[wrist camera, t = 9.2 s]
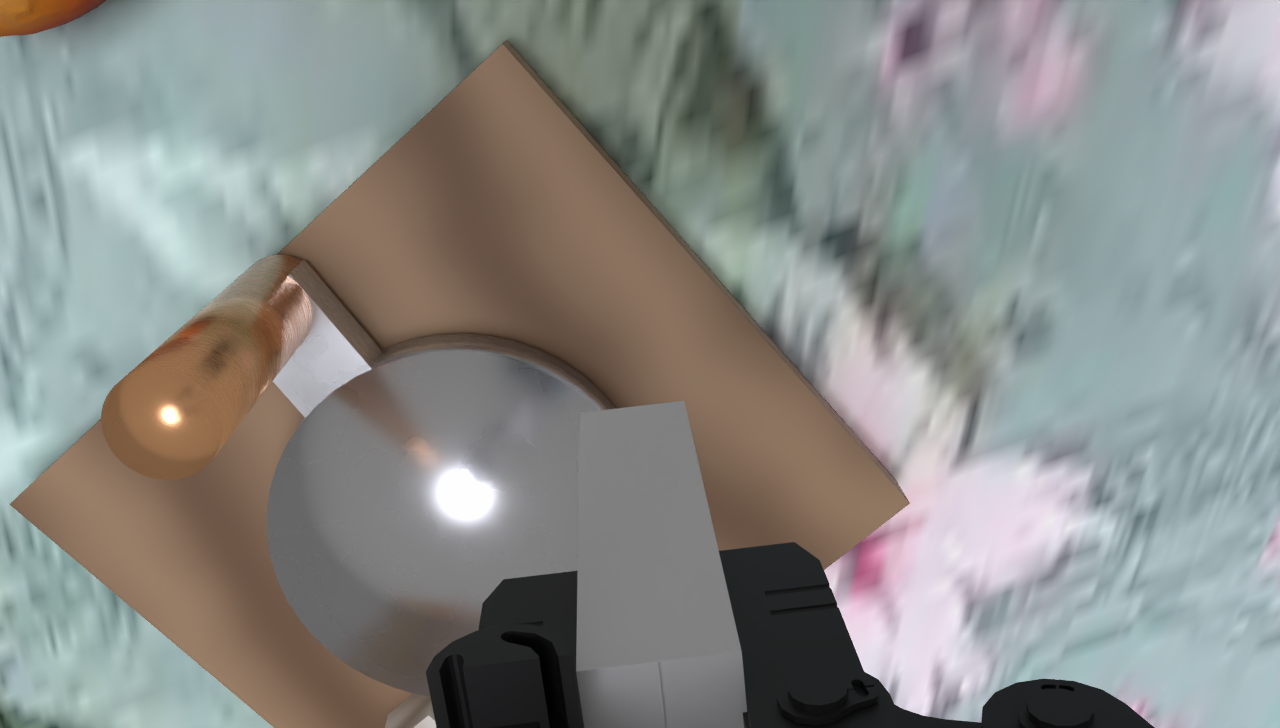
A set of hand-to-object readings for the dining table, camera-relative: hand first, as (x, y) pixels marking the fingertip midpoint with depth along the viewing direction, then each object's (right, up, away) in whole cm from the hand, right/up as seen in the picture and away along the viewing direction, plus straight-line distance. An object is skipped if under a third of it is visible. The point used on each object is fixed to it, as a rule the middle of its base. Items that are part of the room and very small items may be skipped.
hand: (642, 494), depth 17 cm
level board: (-6, -2, +24) cm, 25 cm away
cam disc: (-7, -1, +21) cm, 22 cm away
